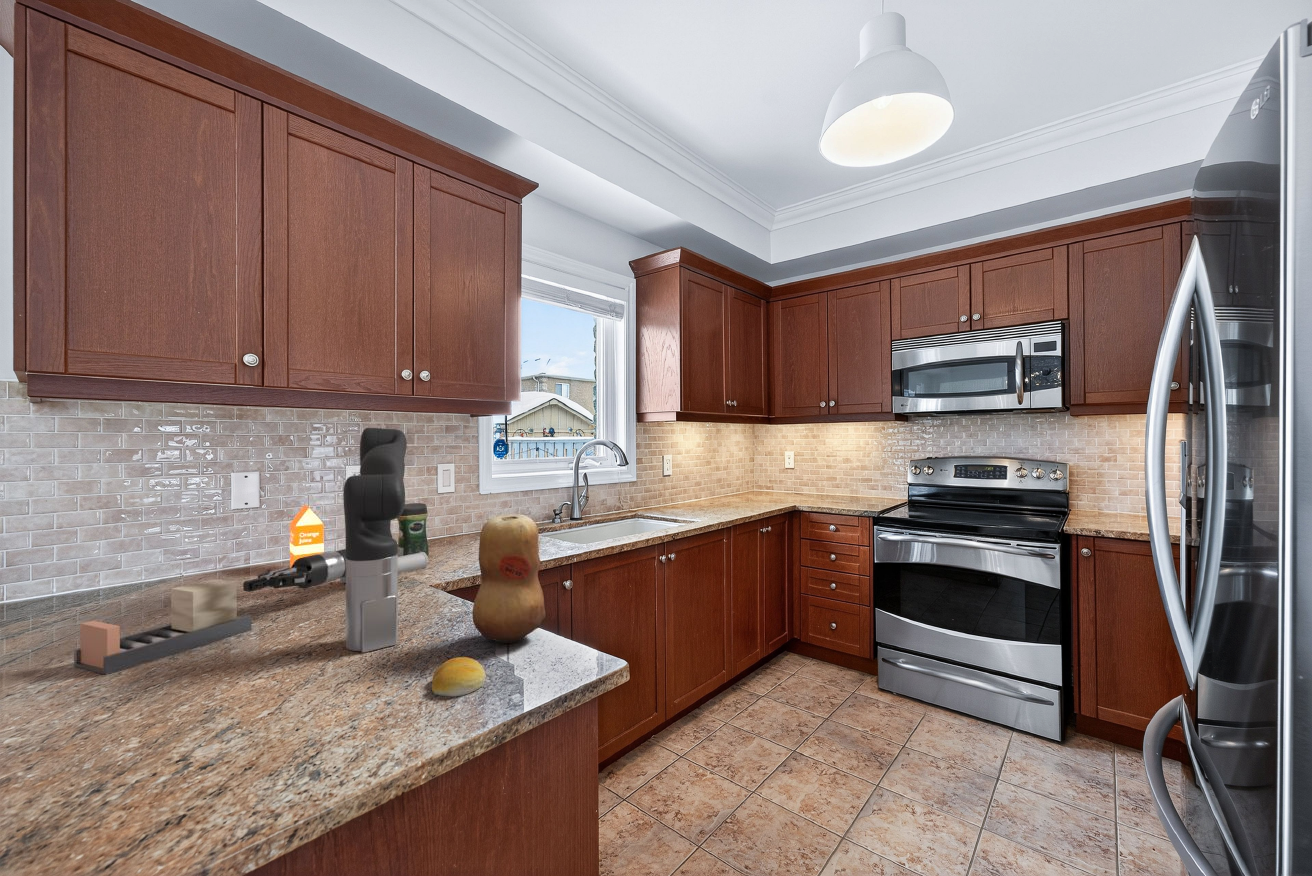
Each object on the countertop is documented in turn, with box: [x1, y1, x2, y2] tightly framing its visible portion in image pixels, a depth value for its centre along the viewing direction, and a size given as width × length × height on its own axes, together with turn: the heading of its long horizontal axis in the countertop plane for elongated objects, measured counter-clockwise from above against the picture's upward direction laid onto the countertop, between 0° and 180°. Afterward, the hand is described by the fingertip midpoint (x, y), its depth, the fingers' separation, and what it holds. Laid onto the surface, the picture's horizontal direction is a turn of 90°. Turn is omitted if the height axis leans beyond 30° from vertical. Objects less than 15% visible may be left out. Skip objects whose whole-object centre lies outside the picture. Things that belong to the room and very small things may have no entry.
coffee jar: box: [396, 502, 430, 557], centre depth 188 cm, size 10×8×19 cm
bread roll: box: [431, 656, 487, 698], centre depth 91 cm, size 8×9×4 cm
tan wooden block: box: [170, 578, 238, 632], centre depth 114 cm, size 8×7×8 cm
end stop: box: [80, 620, 121, 668], centre depth 98 cm, size 2×8×7 cm, turn 69°
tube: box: [339, 552, 429, 584], centre depth 164 cm, size 5×5×25 cm
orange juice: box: [289, 504, 325, 568], centre depth 171 cm, size 8×9×20 cm
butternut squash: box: [472, 513, 546, 644], centre depth 110 cm, size 14×13×25 cm
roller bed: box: [73, 614, 253, 675], centre depth 108 cm, size 24×10×3 cm, turn 159°
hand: (245, 587), depth 121 cm, fingers closed
